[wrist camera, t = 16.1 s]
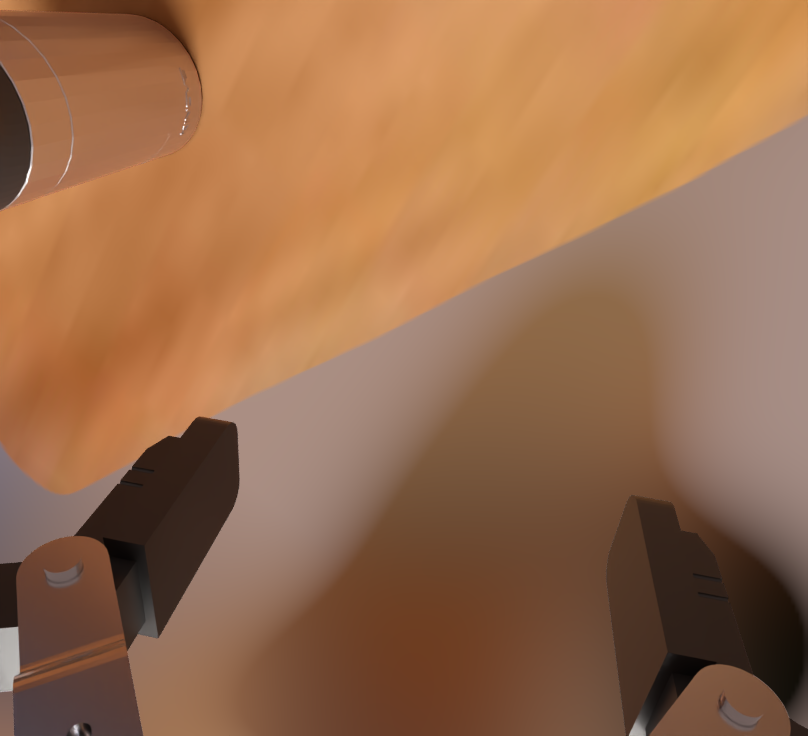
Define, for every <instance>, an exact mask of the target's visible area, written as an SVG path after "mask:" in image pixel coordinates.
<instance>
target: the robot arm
mask: <svg viewBox="0 0 808 736" xmlns="http://www.w3.org/2000/svg"><path fill="white" fill-rule="evenodd" d="M201 106H202V95H201V85H200V81H199V78H198V74H197V70H196V68H195V66H194V64H193V62H192V60H191V57H190V55H189V54H188V52H187V51H186V50H185V48H184V47H183V45H182V44H181V42H180V41H179V40H178V39H177V38H176V37H175V36H174V35H173V34H172V33H171V32H170V31H169V30H167V29H166V28H165V27H163V26H162V25H160V24H159V23H157V22H156V21H153V20H151V19H148V18H146V17H144V16H138V15H132V14H112V13H85V12H48V11H10V10H0V211H2V210H5V209H8V208H11V207H14V206H17V205H20V204H23V203H26V202H29V201H32V200H34V199H37V198H40V197H43V196H46V195H49V194H52V193H55V192H58V191H61V190H64V189H67V188H70V187H73V186H76V185H79V184H82V183H85V182H88V181H91V180H94V179H97V178H100V177H103V176H106V175H109V174H112V173H115V172H118V171H121V170H124V169H127V168H130V167H133V166H136V165H139V164H142V163H145V162H148V161H151V160H154V159H157V158H160V157H163V156H166V155H169V154H172V153H174V152H175V151H177V150H179V149H180V148H182V147H183V146H184V145H185V144H186V143H187V142H188V141H189V140H190V139H191V137H192V135H193V133H194V132H195V130H196V128H197V125H198V122H199V119H200V116H201ZM238 489H239V456H238V433H237V427H236V424H235V423H233V422H228V421H222V420H217V419H211V418H205V417H197V418H196V419H195V420H194V421H193V422H192V424H191V425H190V426H189V427H188V429H187V430H186V431H185V432H184V434H183V435H182V436H181V438H178V437H172V436H168V437H166V438H164V439H163V440H161V441H159V442H158V443H156V444H154V445H153V446H151V447H149V448H148V449H146V450H145V452H144V453H143V454H142V455H141V456H140V458H139V459H138V460H137V461H136V462H135V464H134V465H133V466H132V470H129V471H128V472H127V473H126V474H125V476H124V477H123V478H122V479H121V482H120V484H117V485H116V486H115V488H114V489H113V490H112V491H111V492H110V494H109V495H108V496H107V497H106V498H105V500H104V501H103V502H102V503H101V504H100V506H99V507H98V508H97V509H96V510H95V512H94V513H93V514H92V515H91V516H90V518H89V519H88V520H87V521H86V522H85V524H84V525H83V526H82V527H81V528H80V529H79V531H78V532H77V533H76V534H75V535H74V536H71V537H64V538H59V539H56V540H53V541H50V542H48V543H46V544H44V545H42V546H40V547H38V548H37V549H36V550H34V551H33V552H31V554H29V555H28V556H27V557H26V558H25V559H24V561H23V562H18V563H6V564H0V692H6V691H13V716H14V736H143V732H142V727H141V722H140V716H139V711H138V706H137V700H136V696H135V690H134V684H133V679H132V674H131V669H130V663H129V658H128V653H127V651H128V649H129V648H130V646H131V644H132V642H133V641H134V639H135V638H136V636H137V634H140V635H145V636H149V637H154V638H159V636H160V635H161V633H162V631H163V629H164V628H165V626H166V624H167V622H168V620H169V619H170V617H171V615H172V614H173V612H174V610H175V608H176V607H177V605H178V603H179V601H180V600H181V598H182V596H183V594H184V593H185V591H186V589H187V587H188V586H189V584H190V582H191V581H192V579H193V577H194V575H195V574H196V572H197V570H198V568H199V567H200V565H201V563H202V561H203V559H204V558H205V556H206V554H207V553H208V551H209V549H210V547H211V546H212V544H213V542H214V540H215V539H216V537H217V535H218V533H219V532H220V530H221V528H222V527H223V525H224V523H225V521H226V520H227V518H228V516H229V514H230V512H231V511H232V509H233V507H234V504H235V502H236V498H237V494H238ZM606 582H607V591H608V599H609V607H610V615H611V622H612V630H613V638H614V646H615V653H616V661H617V669H618V678H619V685H620V693H621V700H622V709H623V716H624V725H625V733H626V736H808V729H807V728H805V727H803V726H801V725H799V724H797V723H796V722H794V721H793V720H792V719H790V718H789V717H788V713H787V711H786V709H785V707H784V705H783V704H782V702H781V701H780V699H779V698H778V697H777V696H776V694H775V693H774V692H773V691H772V690H771V689H770V688H769V687H768V686H767V685H766V684H765V683H763V682H762V681H761V680H759V679H758V678H756V677H755V676H754V675H753V672H752V669H751V666H750V663H749V660H748V657H747V654H746V651H745V648H744V645H743V641H742V639H741V635H740V632H739V629H738V626H737V623H736V620H735V617H734V614H733V611H732V608H731V605H730V603H729V602H728V595H727V592H726V589H725V586H724V583H722V577H721V574H720V571H719V568H718V564H717V561H716V558H715V556H714V554H713V553H712V552H711V550H710V549H709V548H708V547H707V546H706V544H705V543H704V542H703V541H702V539H701V538H700V537H699V536H698V534H696V533H691V532H685V531H681V530H680V526H679V523H678V519H677V515H676V512H675V508H674V505H673V504H672V503H671V502H668V501H663V500H657V499H652V498H646V497H640V496H635V495H631V496H630V497H629V499H628V501H627V503H626V506H625V508H624V511H623V514H622V517H621V520H620V523H619V526H618V528H617V531H616V534H615V537H614V540H613V543H612V545H611V548H610V551H609V555H608V561H607V569H606Z"/></svg>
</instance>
